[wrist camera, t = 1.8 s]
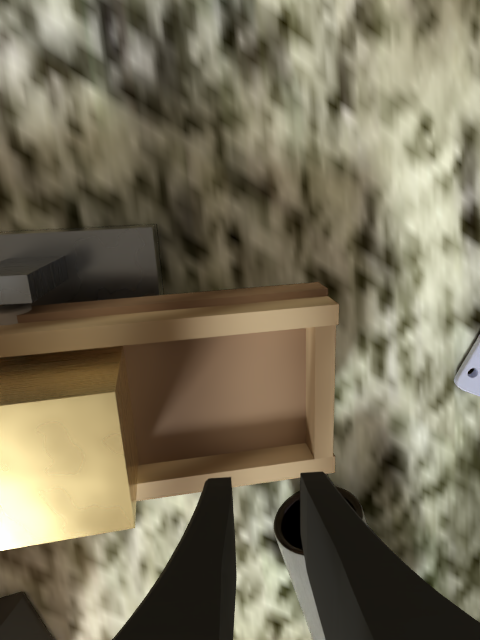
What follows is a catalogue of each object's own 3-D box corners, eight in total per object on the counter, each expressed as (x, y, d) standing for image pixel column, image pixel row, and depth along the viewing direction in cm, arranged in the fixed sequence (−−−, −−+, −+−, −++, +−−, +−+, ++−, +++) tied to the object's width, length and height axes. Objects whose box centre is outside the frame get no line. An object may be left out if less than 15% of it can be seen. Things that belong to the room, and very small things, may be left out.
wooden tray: (317, 279, 19) (339, 293, 16) (316, 447, 21) (334, 480, 19) (-348, 334, 16) (-440, 361, 13) (-256, 524, 18) (-319, 576, 16)
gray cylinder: (306, 659, 26) (255, 523, 23) (356, 603, 28) (316, 472, 25) (368, 723, 22) (317, 572, 19) (420, 653, 25) (382, 507, 21)
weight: (123, 344, 17) (114, 391, 13) (138, 457, 19) (135, 528, 15) (-19, 359, 16) (-70, 414, 12) (10, 475, 18) (-29, 555, 14)
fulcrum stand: (156, 224, 20) (134, 240, 15) (181, 471, 24) (170, 545, 19) (-71, 235, 20) (-166, 255, 15) (-7, 482, 24) (-66, 559, 19)
